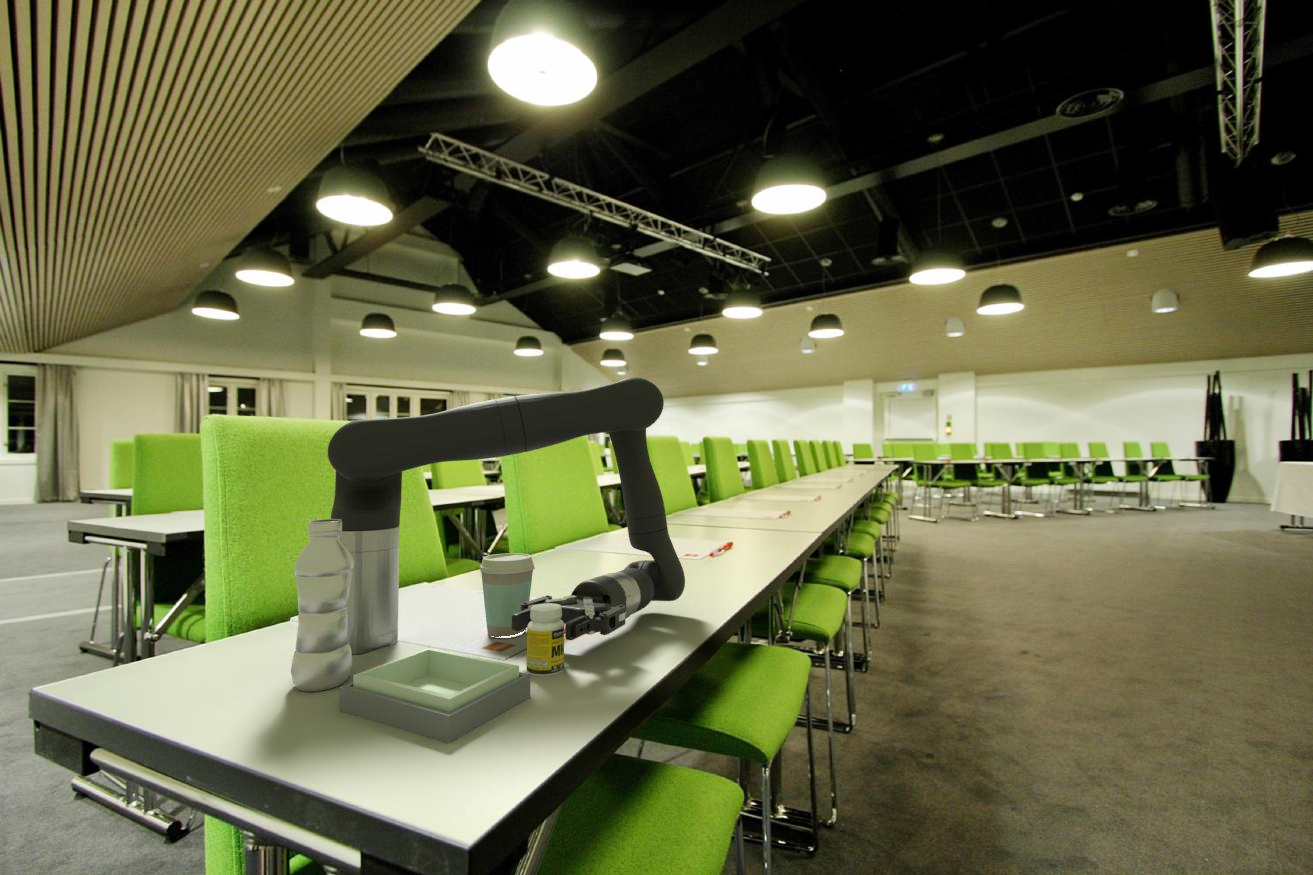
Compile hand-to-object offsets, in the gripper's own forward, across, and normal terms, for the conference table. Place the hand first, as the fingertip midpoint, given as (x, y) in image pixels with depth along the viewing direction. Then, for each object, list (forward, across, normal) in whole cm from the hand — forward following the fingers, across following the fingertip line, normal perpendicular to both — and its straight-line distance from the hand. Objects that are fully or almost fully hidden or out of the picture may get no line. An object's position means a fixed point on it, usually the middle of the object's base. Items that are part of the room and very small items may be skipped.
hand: (540, 627), depth 74 cm
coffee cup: (-12, -16, +6) cm, 21 cm away
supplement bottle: (-1, 0, +6) cm, 6 cm away
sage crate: (+13, -4, +6) cm, 14 cm away
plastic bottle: (+15, -21, +6) cm, 26 cm away
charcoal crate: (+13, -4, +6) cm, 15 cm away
